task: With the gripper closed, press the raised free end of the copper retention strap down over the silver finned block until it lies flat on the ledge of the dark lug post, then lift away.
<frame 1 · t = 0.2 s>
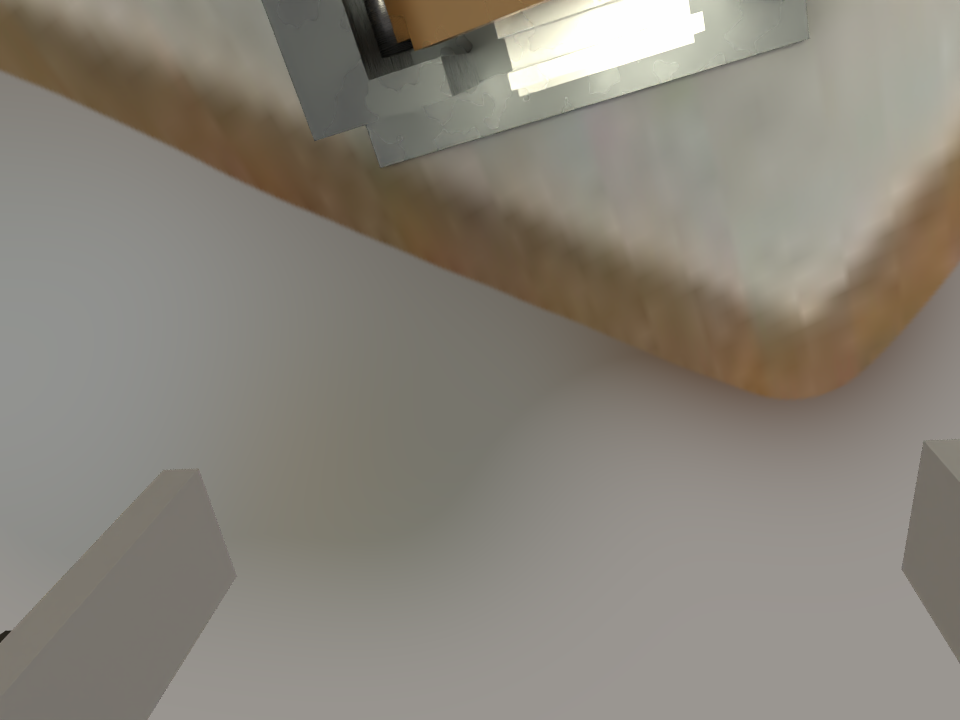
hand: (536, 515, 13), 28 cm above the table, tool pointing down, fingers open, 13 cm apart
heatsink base: (423, 13, 34), on the table
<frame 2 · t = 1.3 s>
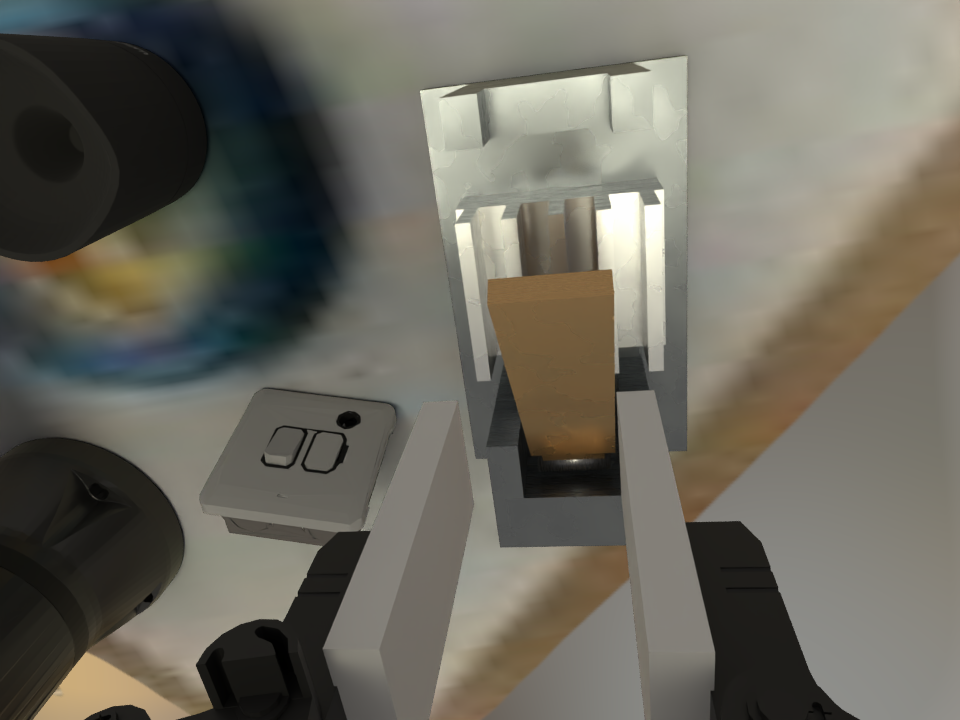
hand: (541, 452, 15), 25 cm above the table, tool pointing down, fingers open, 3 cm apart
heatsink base: (573, 383, 41), on the table
pen holder: (138, 126, 38), on the table
strap: (564, 394, 28), point 12 cm above the table, hinge at 35.0°
electrical switch: (333, 428, 45), on the table
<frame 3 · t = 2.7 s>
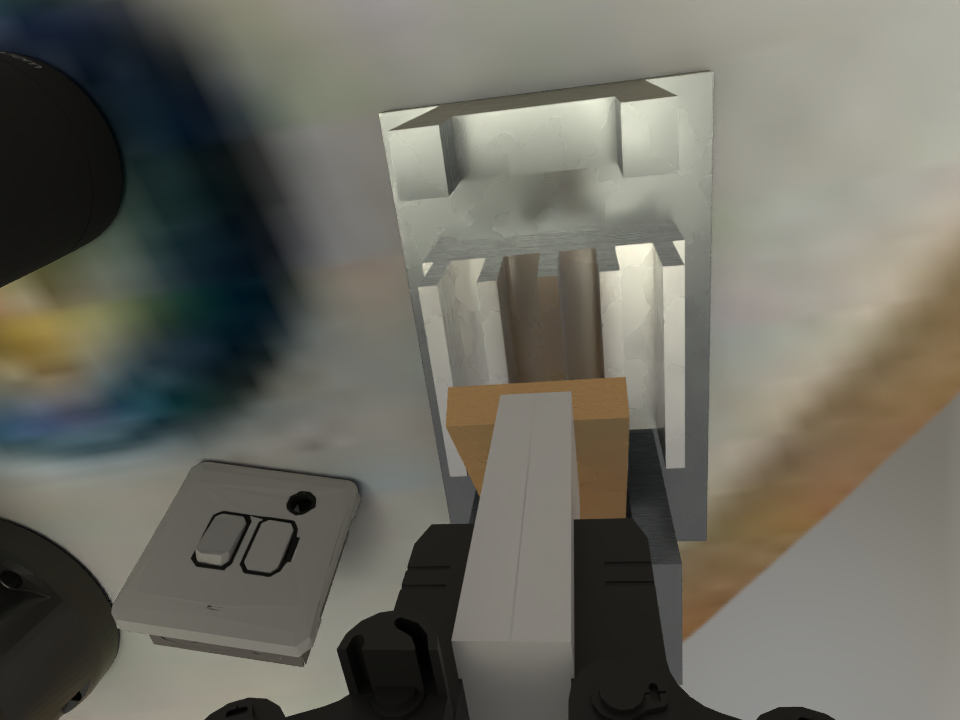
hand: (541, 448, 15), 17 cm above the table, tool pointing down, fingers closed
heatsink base: (570, 459, 34), on the table
pen holder: (39, 154, 31), on the table
strap: (559, 514, 21), point 12 cm above the table, hinge at 33.8°, touching gripper
electrical switch: (287, 506, 38), on the table
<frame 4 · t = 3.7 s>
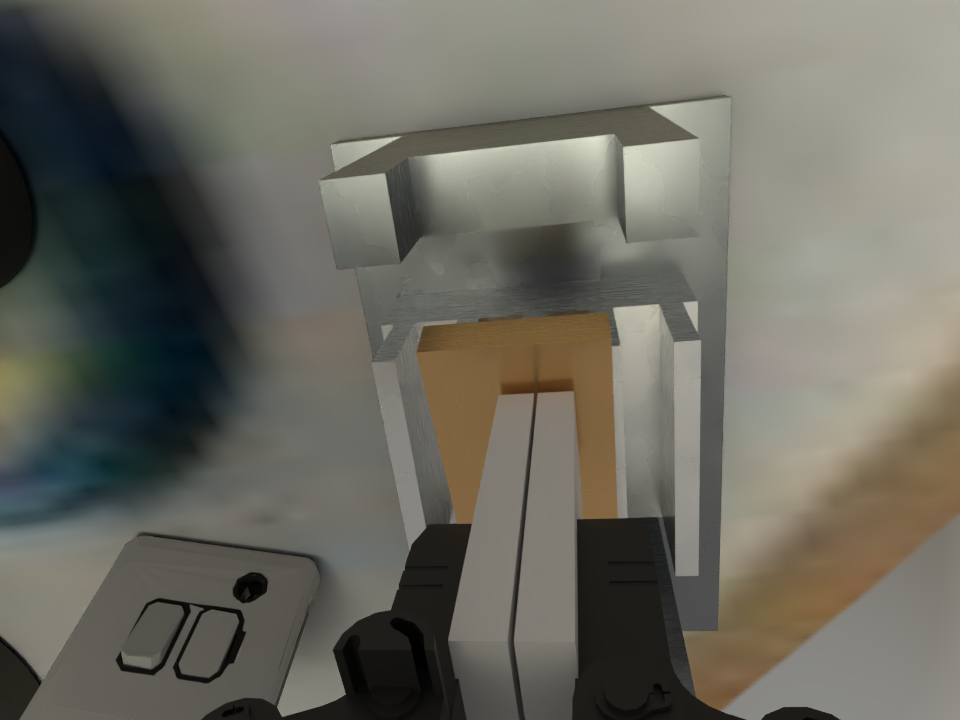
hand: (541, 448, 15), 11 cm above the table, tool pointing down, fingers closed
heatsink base: (561, 537, 30), on the table
strap: (543, 562, 19), point 9 cm above the table, hinge at 11.8°, touching gripper
electrical switch: (238, 583, 33), on the table
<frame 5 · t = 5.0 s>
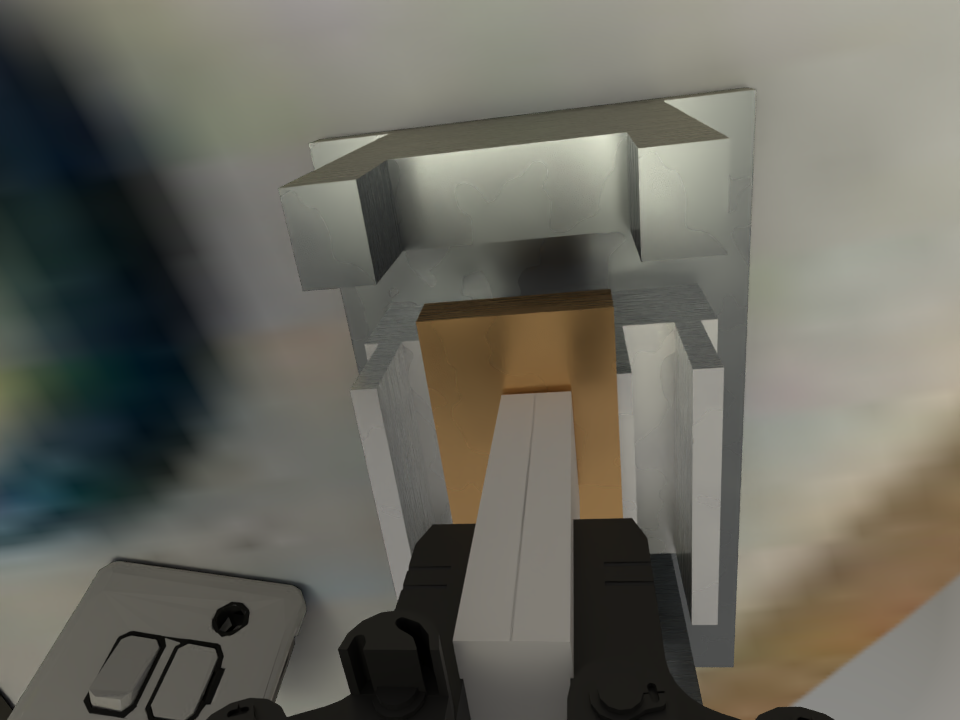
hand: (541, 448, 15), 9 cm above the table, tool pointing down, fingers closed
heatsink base: (564, 566, 28), on the table
strap: (545, 579, 17), point 8 cm above the table, hinge at 2.2°, touching gripper
electrical switch: (221, 610, 31), on the table
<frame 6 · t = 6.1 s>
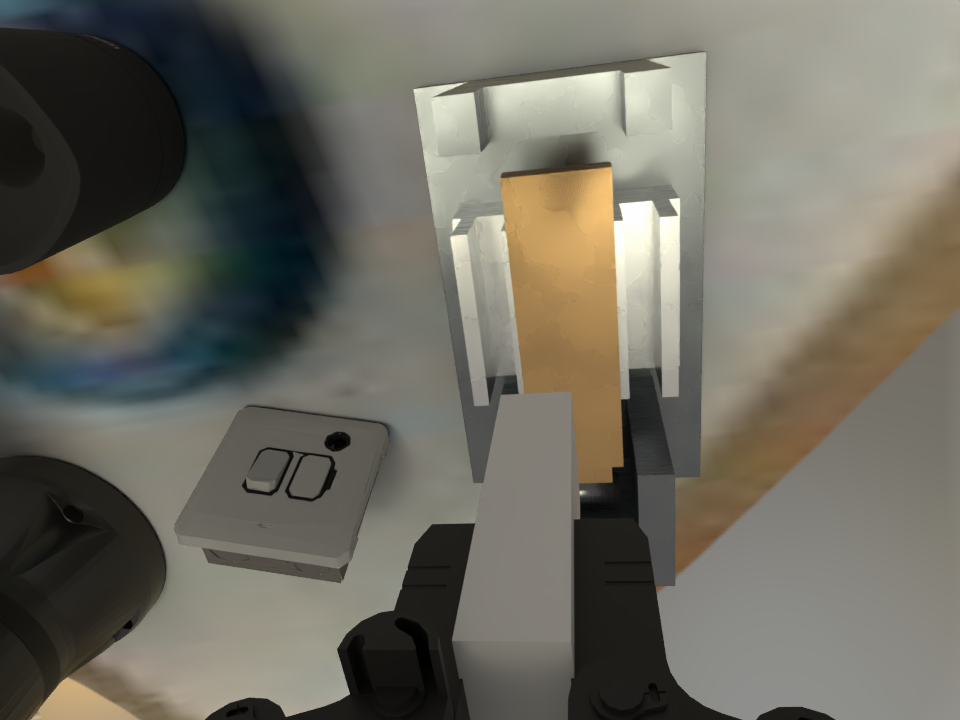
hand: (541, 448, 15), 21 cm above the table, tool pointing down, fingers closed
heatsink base: (578, 403, 38), on the table
pen holder: (111, 126, 35), on the table
strap: (569, 354, 28), point 8 cm above the table, hinge at 2.2°
electrical switch: (322, 448, 42), on the table
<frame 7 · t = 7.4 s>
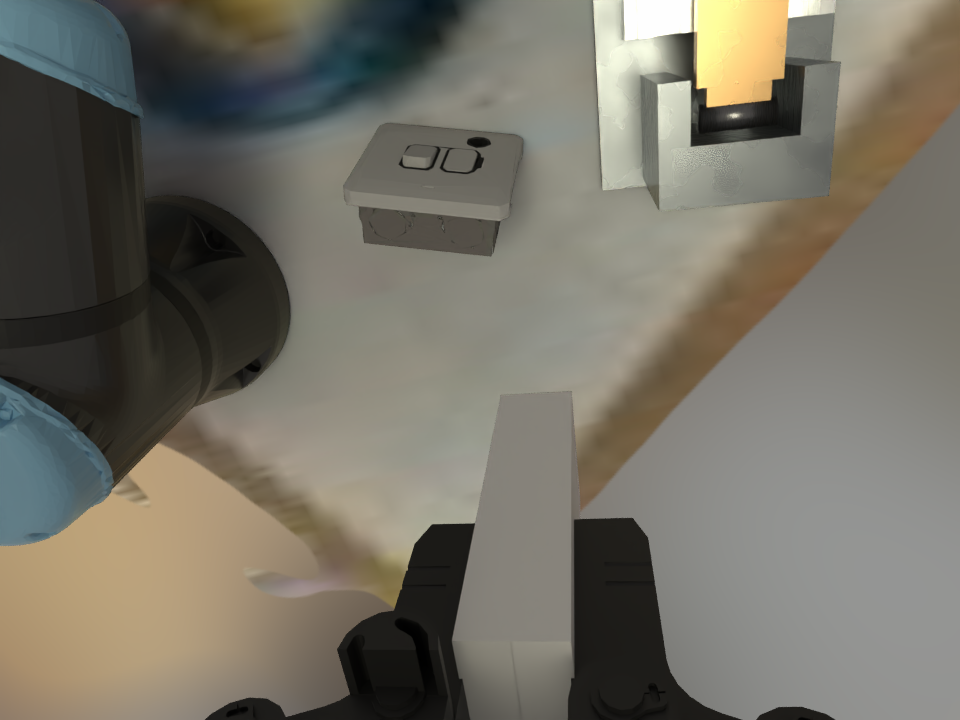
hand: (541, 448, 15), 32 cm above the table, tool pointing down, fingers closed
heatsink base: (707, 101, 41), on the table
electrical switch: (454, 170, 45), on the table
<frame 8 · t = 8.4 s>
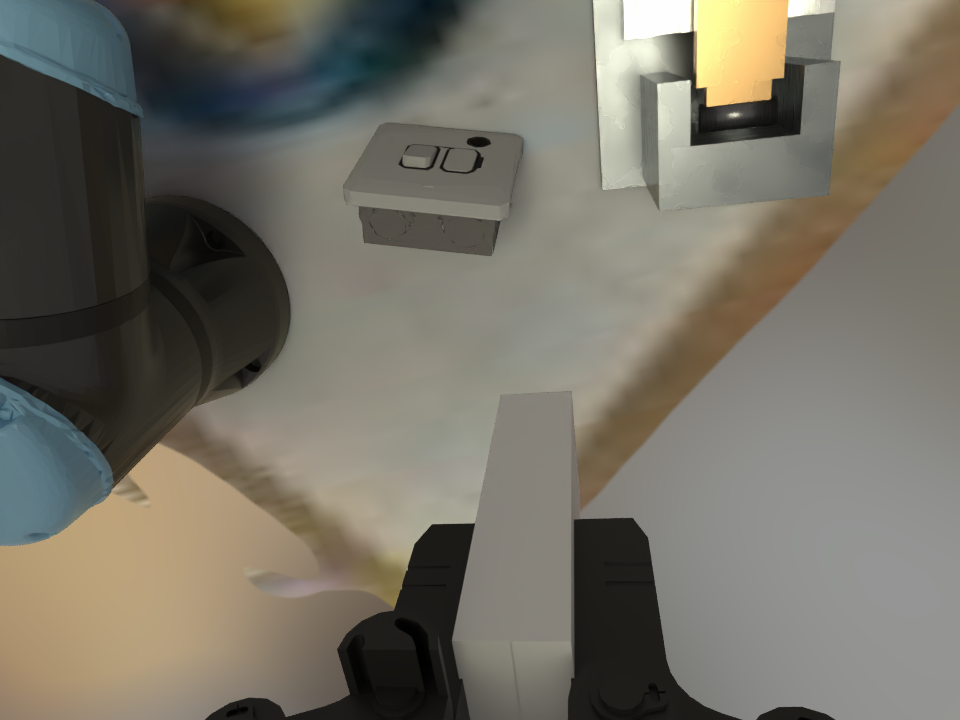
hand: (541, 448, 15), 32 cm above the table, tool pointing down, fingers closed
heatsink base: (707, 100, 41), on the table
electrical switch: (454, 170, 45), on the table
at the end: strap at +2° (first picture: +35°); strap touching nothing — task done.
